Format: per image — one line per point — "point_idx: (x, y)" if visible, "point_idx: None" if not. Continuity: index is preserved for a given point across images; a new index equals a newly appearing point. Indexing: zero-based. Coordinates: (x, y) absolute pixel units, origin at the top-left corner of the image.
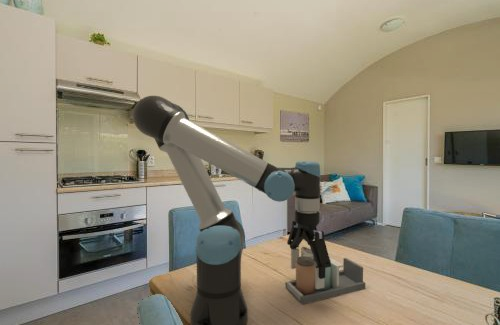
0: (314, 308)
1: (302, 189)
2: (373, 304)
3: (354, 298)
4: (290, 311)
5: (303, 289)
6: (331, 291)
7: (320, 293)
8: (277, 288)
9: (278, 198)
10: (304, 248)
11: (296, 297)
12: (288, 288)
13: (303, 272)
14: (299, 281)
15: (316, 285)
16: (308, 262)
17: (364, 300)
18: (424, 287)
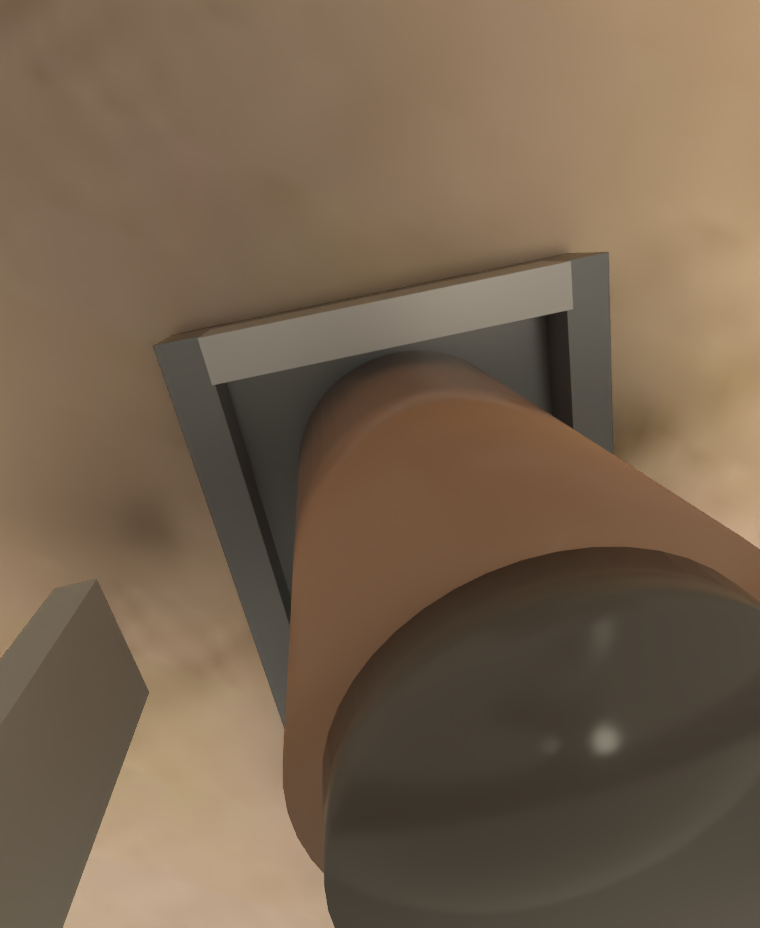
0: (95, 445)
1: None
2: (142, 900)
3: (238, 819)
4: (29, 118)
5: (317, 430)
6: (279, 712)
7: (253, 599)
8: (588, 129)
9: None
10: None
11: (301, 309)
12: (503, 269)
13: (323, 554)
14: (372, 413)
15: (26, 628)
16: (383, 886)
17: (202, 869)
18: None
